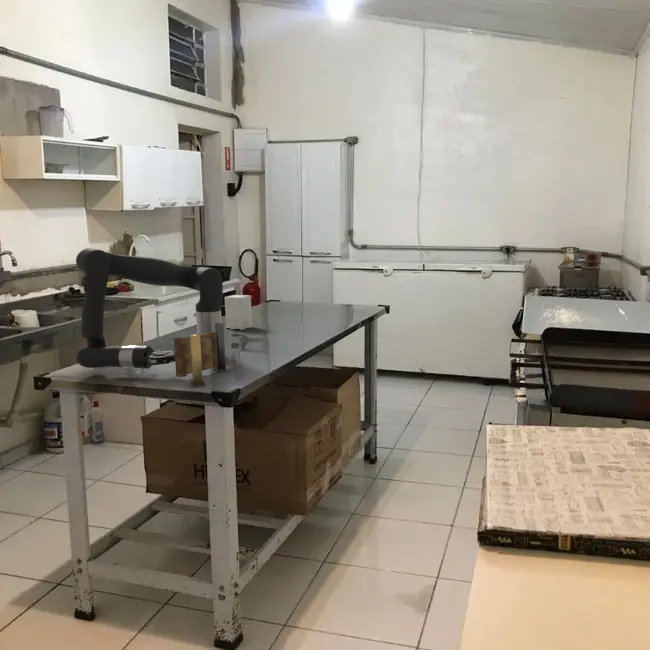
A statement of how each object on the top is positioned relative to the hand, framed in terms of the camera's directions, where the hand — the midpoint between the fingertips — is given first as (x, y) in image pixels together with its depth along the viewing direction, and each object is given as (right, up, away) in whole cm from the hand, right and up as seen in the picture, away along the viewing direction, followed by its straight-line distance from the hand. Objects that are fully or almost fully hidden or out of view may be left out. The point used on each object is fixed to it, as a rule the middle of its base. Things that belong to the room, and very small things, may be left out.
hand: (185, 358), depth 227 cm
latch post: (+6, -8, -9) cm, 14 cm away
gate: (+3, -5, +3) cm, 6 cm away
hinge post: (+10, -5, +11) cm, 16 cm away
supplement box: (+6, +9, +94) cm, 94 cm away
